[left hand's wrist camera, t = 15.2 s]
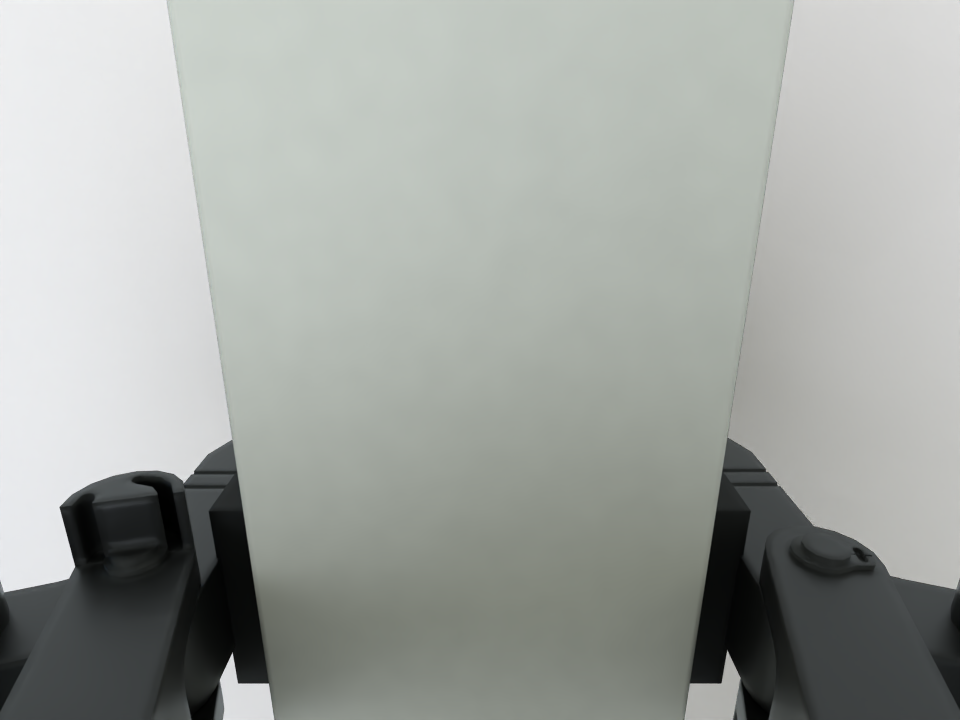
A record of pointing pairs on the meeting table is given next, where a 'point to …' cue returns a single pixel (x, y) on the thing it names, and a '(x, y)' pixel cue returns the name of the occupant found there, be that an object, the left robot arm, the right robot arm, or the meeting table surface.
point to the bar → (479, 334)
